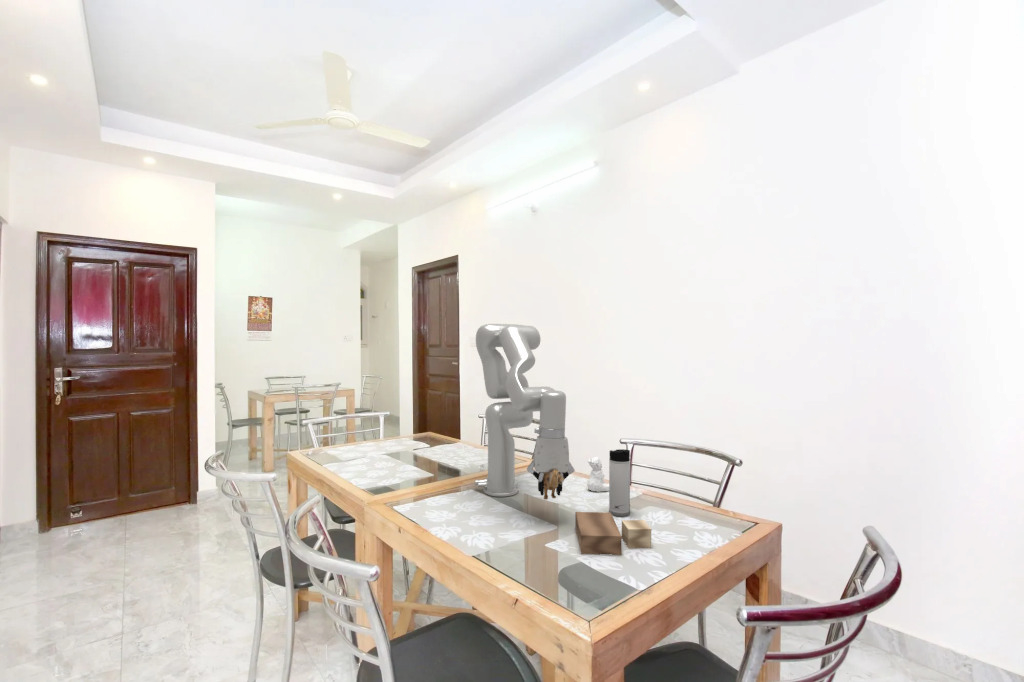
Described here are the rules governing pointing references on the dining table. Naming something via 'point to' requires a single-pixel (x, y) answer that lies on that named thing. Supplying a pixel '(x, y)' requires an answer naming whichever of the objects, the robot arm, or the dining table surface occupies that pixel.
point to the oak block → (636, 534)
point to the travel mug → (619, 482)
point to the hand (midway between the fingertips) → (549, 493)
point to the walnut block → (597, 533)
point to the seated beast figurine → (596, 476)
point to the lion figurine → (551, 482)
